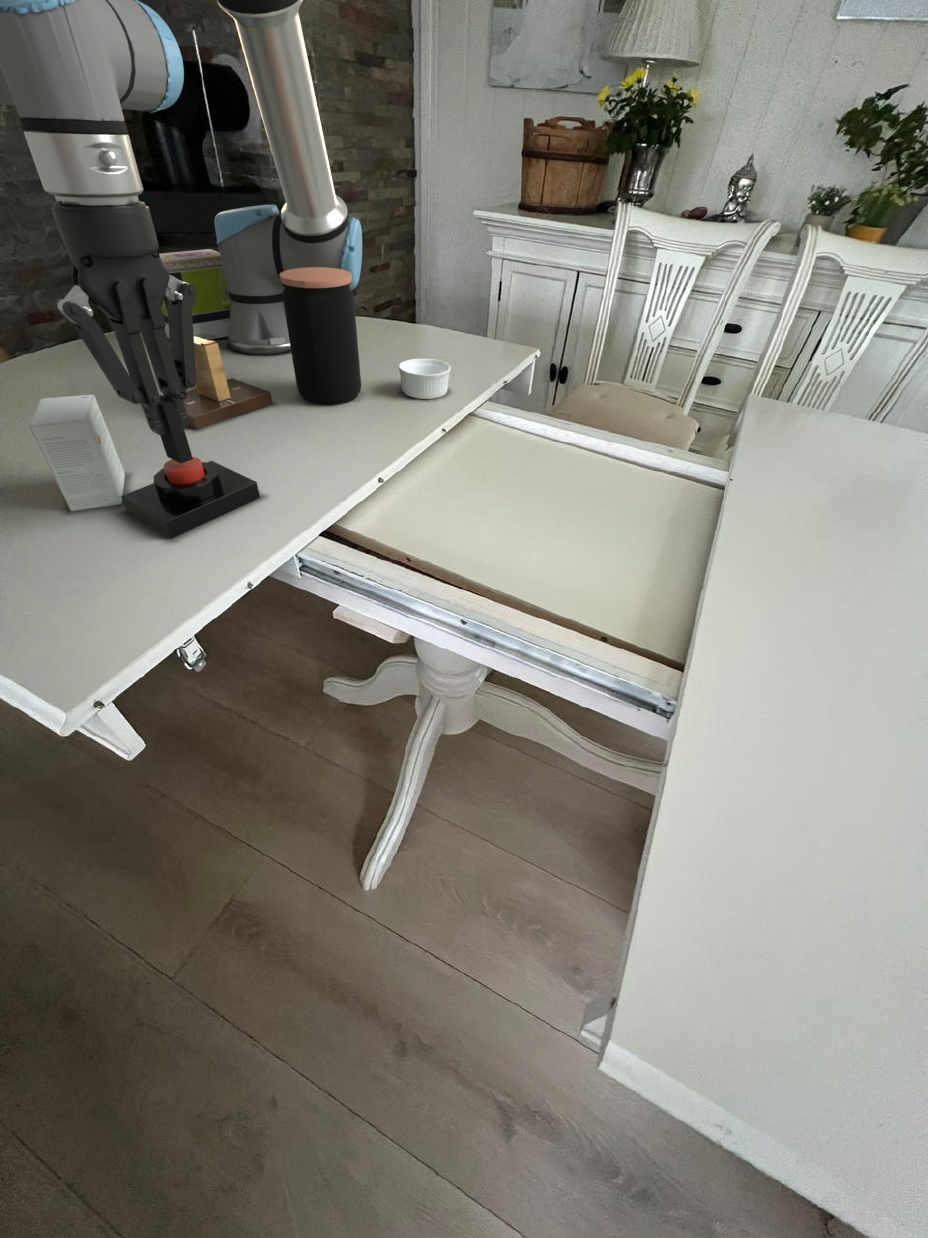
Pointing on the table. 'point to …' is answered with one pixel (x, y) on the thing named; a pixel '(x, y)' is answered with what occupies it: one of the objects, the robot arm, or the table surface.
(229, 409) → the panel
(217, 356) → the handle
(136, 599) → the table surface
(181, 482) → the button
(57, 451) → the small box
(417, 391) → the ramekin
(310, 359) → the coffee jar
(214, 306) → the tea box
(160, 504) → the button block
